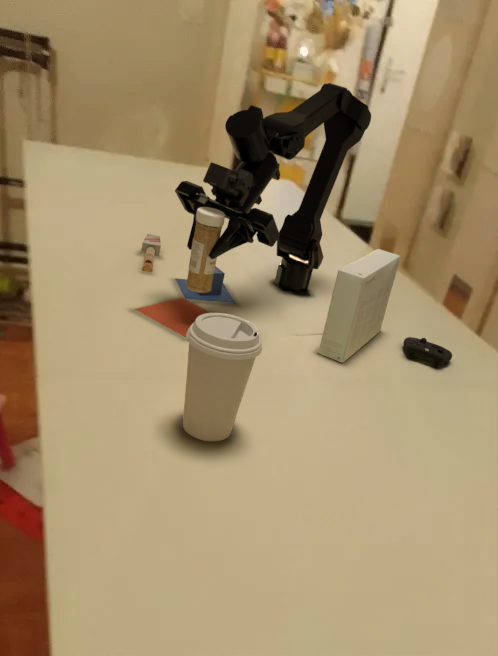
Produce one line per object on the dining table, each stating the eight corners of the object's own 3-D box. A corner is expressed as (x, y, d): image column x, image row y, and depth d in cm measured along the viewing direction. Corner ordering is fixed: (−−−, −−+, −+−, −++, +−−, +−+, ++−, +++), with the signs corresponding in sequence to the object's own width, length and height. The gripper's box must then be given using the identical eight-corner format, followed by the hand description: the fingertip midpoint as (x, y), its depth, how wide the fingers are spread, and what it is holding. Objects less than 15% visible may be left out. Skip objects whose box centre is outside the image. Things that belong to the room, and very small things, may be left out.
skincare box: (355, 322, 137) (378, 247, 130) (380, 332, 136) (404, 256, 128) (314, 352, 120) (337, 267, 112) (342, 364, 118) (367, 278, 111)
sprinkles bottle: (213, 295, 114) (228, 217, 107) (187, 292, 112) (200, 212, 106) (208, 284, 118) (222, 208, 111) (182, 281, 116) (195, 204, 109)
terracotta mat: (181, 299, 126) (182, 297, 126) (230, 325, 122) (230, 323, 121) (134, 310, 117) (134, 308, 117) (184, 339, 112) (185, 336, 112)
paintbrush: (163, 230, 150) (157, 264, 133) (161, 242, 151) (155, 277, 135) (146, 227, 149) (137, 260, 132) (144, 238, 150) (136, 273, 134)
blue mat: (222, 285, 138) (223, 283, 138) (235, 305, 130) (236, 303, 130) (174, 280, 134) (175, 278, 134) (185, 300, 126) (185, 298, 126)
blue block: (209, 285, 135) (213, 264, 133) (220, 295, 132) (224, 273, 130) (189, 286, 132) (193, 264, 130) (200, 295, 129) (204, 273, 127)
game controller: (452, 355, 131) (457, 343, 126) (443, 379, 130) (448, 368, 124) (405, 339, 133) (408, 326, 127) (395, 362, 132) (398, 350, 126)
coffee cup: (213, 457, 85) (236, 351, 78) (155, 424, 88) (172, 319, 81) (255, 431, 92) (279, 332, 85) (201, 401, 96) (220, 304, 89)
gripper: (190, 129, 110) (136, 203, 107) (285, 164, 103) (231, 243, 100) (211, 176, 120) (162, 244, 117) (299, 209, 114) (250, 283, 110)
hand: (199, 252), depth 111 cm, fingers closed on sprinkles bottle, 4 cm apart
